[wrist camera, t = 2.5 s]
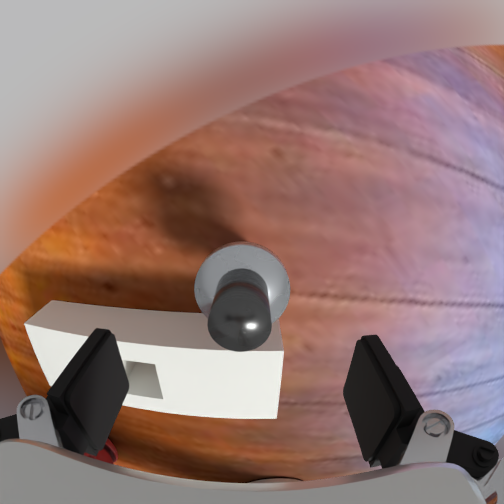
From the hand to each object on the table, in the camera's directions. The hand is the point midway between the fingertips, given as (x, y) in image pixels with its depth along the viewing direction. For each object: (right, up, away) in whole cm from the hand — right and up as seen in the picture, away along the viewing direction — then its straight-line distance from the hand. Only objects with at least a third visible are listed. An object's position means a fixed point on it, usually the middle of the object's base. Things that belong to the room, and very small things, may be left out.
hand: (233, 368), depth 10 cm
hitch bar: (-9, -5, +16) cm, 19 cm away
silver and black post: (0, +4, +13) cm, 14 cm away
